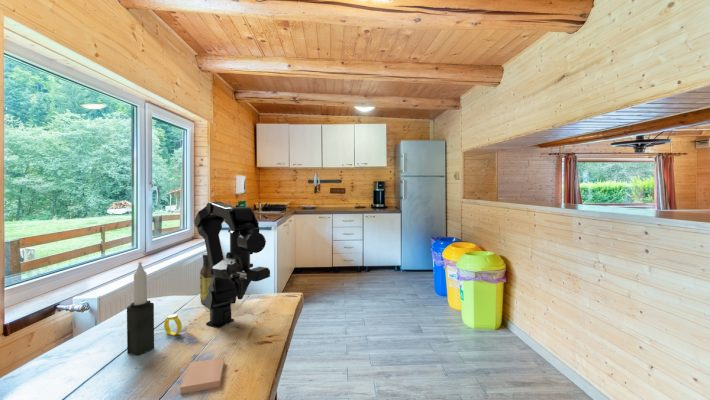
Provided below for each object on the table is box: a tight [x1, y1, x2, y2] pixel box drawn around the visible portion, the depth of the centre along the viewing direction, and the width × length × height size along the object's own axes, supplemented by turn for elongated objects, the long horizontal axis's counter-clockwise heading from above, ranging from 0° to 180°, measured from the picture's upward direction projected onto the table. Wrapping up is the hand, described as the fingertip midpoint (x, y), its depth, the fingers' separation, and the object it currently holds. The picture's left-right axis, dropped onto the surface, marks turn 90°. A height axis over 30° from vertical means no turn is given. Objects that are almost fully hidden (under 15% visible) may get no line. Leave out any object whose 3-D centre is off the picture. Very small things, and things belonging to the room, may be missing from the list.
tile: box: [179, 357, 225, 395], centre depth 72 cm, size 2×8×10 cm
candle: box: [126, 261, 155, 356], centre depth 83 cm, size 5×5×25 cm
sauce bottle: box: [199, 252, 212, 305], centre depth 120 cm, size 6×6×20 cm
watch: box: [163, 313, 183, 337], centre depth 93 cm, size 6×3×6 cm, turn 70°
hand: (240, 299), depth 91 cm, fingers closed
